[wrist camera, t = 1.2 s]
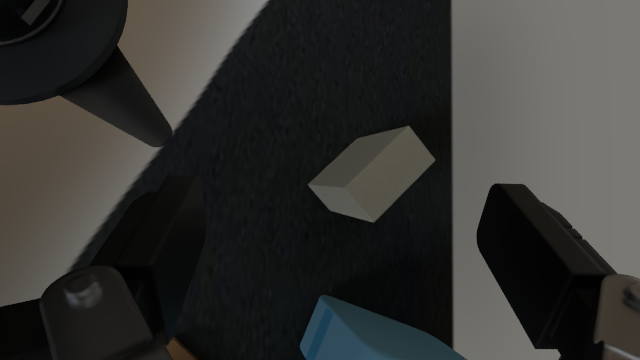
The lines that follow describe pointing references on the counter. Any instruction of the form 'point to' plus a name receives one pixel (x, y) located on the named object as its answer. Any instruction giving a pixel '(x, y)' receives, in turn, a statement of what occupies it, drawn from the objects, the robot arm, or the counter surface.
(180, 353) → the rack
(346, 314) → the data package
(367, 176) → the beige block
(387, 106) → the counter surface
